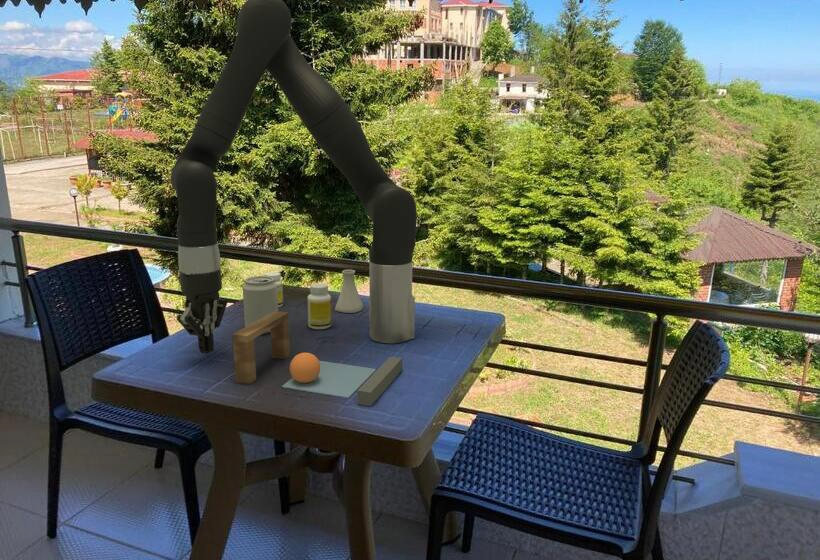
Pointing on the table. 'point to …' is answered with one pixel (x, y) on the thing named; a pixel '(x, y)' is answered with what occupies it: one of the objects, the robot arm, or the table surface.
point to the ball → (305, 367)
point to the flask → (349, 295)
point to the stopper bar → (379, 381)
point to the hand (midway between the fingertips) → (206, 352)
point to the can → (259, 298)
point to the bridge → (245, 344)
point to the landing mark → (334, 380)
